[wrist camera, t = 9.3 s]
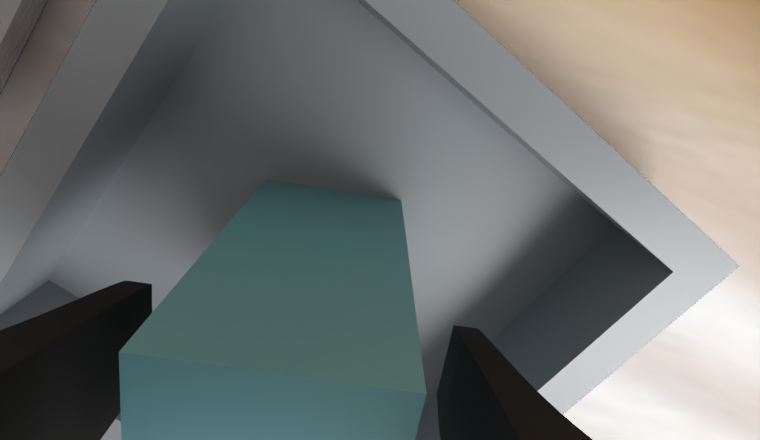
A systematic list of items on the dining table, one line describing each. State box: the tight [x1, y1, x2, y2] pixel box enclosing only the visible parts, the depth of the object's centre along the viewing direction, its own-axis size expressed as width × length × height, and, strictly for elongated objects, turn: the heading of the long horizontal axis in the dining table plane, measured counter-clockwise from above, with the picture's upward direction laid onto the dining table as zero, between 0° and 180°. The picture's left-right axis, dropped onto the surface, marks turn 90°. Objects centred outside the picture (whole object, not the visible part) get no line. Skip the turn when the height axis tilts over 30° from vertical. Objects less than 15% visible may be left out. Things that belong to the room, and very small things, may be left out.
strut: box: [119, 179, 426, 440], centre depth 12 cm, size 4×4×9 cm
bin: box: [0, 0, 740, 440], centre depth 15 cm, size 16×16×4 cm
